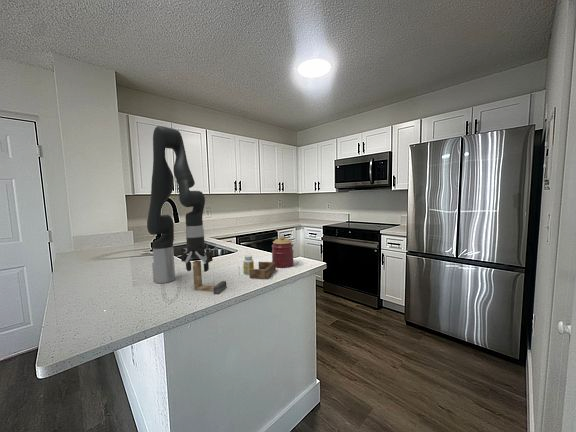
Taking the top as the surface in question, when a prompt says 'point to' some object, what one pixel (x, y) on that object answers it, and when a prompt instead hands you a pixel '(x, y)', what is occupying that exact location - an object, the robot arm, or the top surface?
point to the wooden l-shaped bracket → (198, 280)
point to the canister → (282, 252)
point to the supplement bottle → (248, 264)
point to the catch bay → (263, 270)
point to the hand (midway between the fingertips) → (197, 271)
